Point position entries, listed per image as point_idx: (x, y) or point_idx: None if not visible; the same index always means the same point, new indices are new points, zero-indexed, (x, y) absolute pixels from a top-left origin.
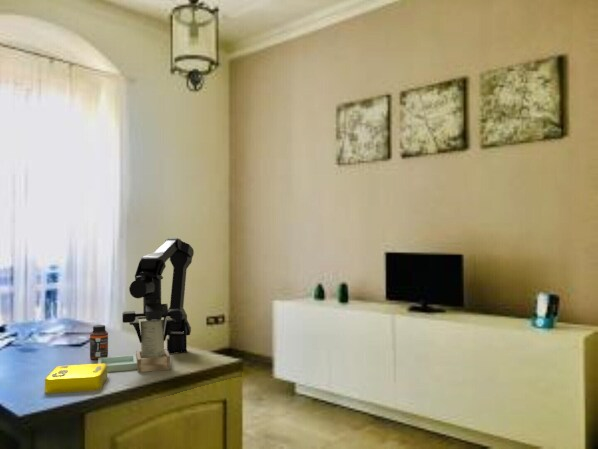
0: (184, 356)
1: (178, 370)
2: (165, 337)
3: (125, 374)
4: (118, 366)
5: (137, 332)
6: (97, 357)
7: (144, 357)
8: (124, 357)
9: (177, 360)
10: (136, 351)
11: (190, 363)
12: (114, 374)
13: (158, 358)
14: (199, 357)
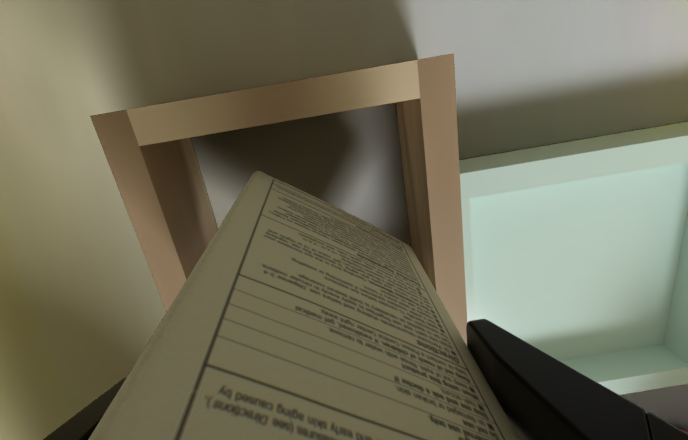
0: None
1: (65, 49)
2: (87, 413)
3: (518, 9)
4: (589, 146)
5: (659, 428)
6: None
7: (386, 234)
8: None
9: None
10: None
11: (28, 258)
12: (604, 31)
13: (223, 94)
14: (12, 401)
